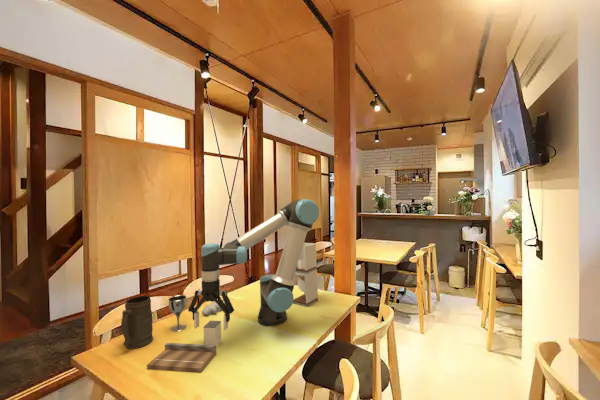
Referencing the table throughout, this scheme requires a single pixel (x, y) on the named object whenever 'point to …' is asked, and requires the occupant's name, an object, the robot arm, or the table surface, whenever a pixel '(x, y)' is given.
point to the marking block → (212, 333)
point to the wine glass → (177, 309)
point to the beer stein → (137, 322)
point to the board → (183, 357)
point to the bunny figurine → (211, 308)
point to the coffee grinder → (307, 275)
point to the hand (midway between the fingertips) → (211, 328)
